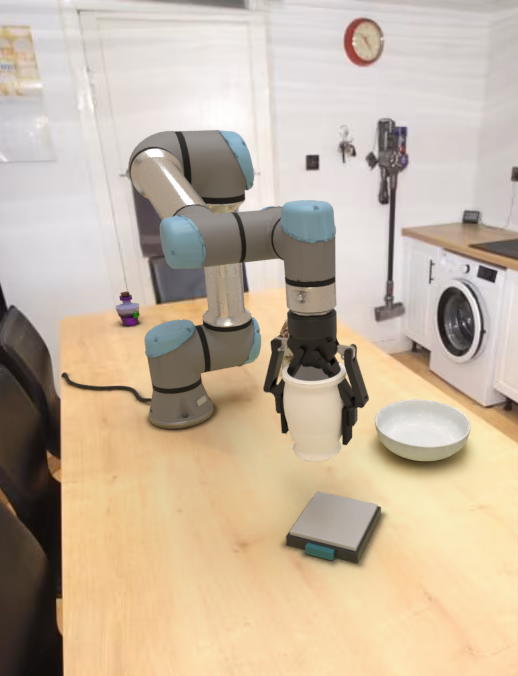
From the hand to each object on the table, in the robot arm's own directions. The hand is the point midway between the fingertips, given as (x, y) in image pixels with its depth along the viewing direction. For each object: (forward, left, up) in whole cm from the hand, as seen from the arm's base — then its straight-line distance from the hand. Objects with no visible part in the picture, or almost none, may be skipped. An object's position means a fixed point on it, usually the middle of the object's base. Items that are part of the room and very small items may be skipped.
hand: (316, 435), depth 91 cm
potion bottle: (-108, +78, -18) cm, 134 cm away
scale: (+4, -1, -18) cm, 18 cm away
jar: (0, 0, -3) cm, 3 cm away
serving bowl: (+12, +31, -18) cm, 37 cm away
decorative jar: (-29, +61, -18) cm, 70 cm away
